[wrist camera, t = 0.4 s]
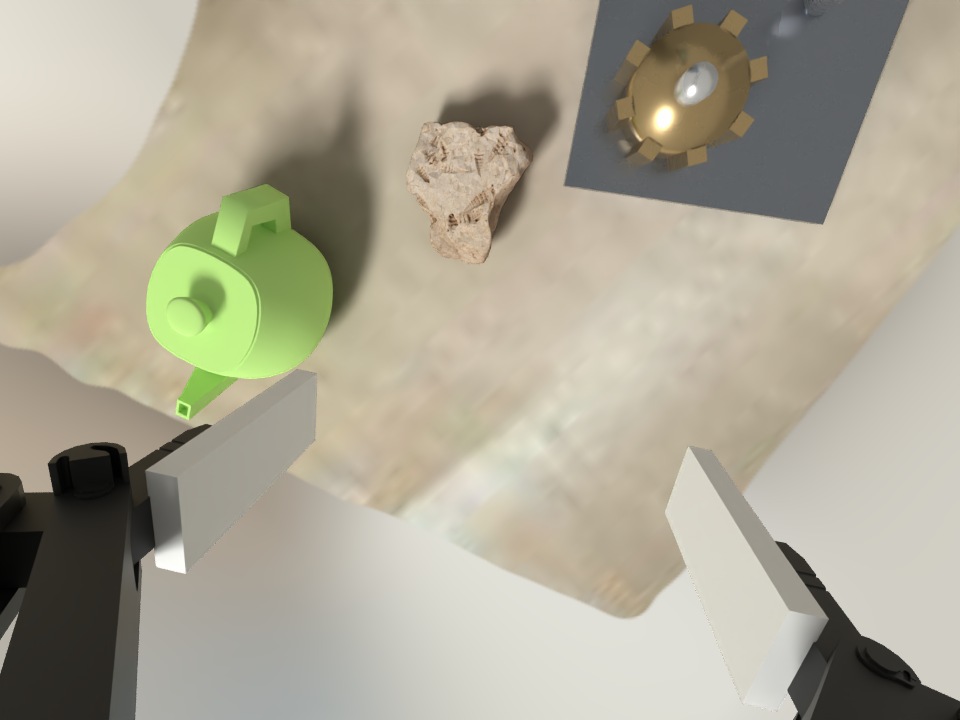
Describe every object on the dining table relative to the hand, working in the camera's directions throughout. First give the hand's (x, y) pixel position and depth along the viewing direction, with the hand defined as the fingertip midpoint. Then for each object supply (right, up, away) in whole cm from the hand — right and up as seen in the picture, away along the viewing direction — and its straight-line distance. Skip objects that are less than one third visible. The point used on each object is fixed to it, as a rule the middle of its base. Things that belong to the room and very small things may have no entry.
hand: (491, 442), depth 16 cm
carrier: (+18, +25, +18) cm, 35 cm away
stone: (-1, +18, +23) cm, 29 cm away
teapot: (-20, +10, +28) cm, 36 cm away
